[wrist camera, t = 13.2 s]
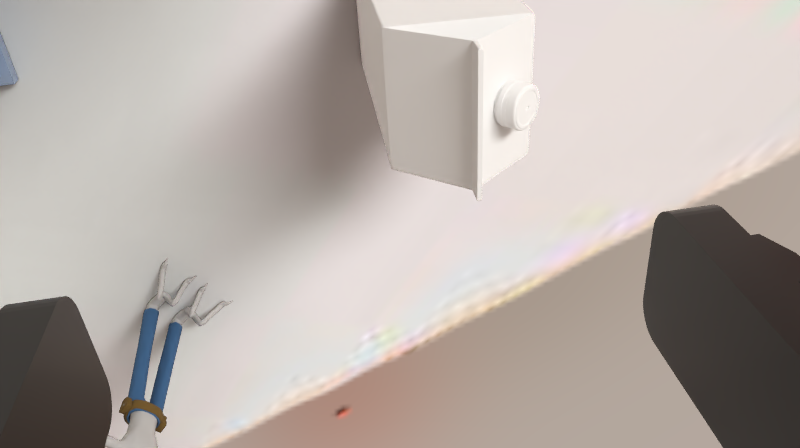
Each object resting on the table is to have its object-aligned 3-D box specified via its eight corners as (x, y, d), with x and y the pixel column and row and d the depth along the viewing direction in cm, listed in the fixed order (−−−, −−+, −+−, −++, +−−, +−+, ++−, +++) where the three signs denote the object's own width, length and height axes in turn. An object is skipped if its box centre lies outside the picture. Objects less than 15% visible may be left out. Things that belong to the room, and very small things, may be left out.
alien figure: (298, 339, 60) (305, 549, 43) (255, 376, 61) (246, 592, 45) (88, 201, 50) (-3, 403, 34) (43, 248, 52) (-64, 464, 35)
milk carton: (361, 65, 48) (402, 210, 32) (352, -45, 44) (392, 57, 28) (465, 55, 48) (555, 192, 32) (464, -55, 44) (567, 40, 29)
